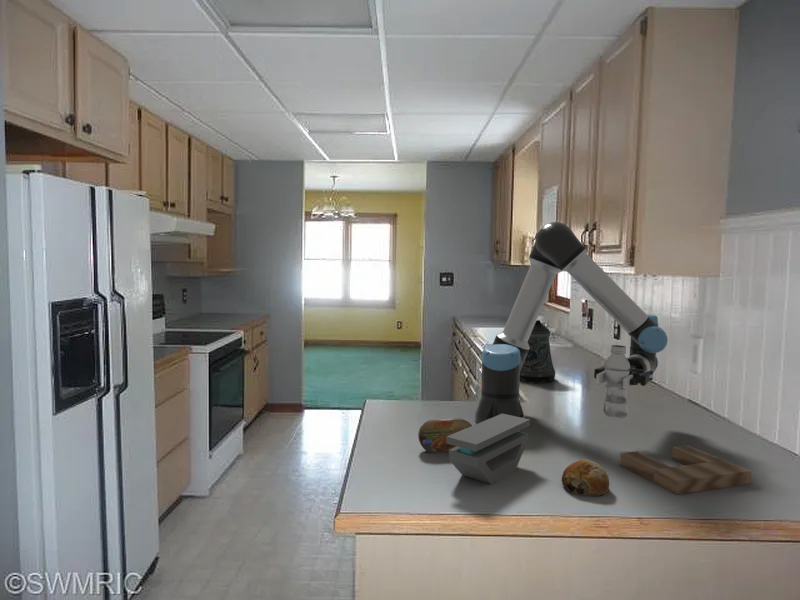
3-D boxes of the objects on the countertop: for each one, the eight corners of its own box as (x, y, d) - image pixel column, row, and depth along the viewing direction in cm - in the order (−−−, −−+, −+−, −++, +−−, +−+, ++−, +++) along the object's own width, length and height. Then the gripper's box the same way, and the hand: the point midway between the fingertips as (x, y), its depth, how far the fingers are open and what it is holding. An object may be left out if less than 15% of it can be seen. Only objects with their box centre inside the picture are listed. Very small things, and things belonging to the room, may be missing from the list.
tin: (419, 454, 143) (420, 422, 143) (416, 449, 146) (417, 418, 146) (475, 450, 146) (475, 419, 146) (471, 446, 149) (471, 416, 149)
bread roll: (611, 512, 120) (625, 477, 120) (574, 497, 117) (590, 462, 117) (583, 493, 129) (597, 461, 130) (549, 479, 126) (563, 446, 127)
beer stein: (559, 383, 227) (561, 323, 225) (512, 383, 227) (514, 322, 225) (549, 375, 243) (551, 318, 242) (505, 374, 244) (506, 318, 242)
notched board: (677, 494, 120) (678, 481, 120) (620, 465, 137) (620, 453, 137) (750, 483, 127) (751, 470, 126) (687, 456, 144) (687, 445, 143)
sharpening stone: (501, 454, 144) (502, 413, 143) (528, 462, 139) (530, 419, 138) (445, 483, 124) (446, 436, 124) (475, 493, 119) (476, 444, 119)
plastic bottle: (628, 423, 147) (632, 349, 146) (601, 419, 150) (605, 346, 148) (627, 416, 153) (631, 345, 152) (601, 413, 156) (605, 343, 154)
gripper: (668, 386, 160) (648, 402, 141) (600, 376, 171) (574, 389, 153) (669, 360, 159) (650, 373, 141) (601, 352, 171) (575, 362, 152)
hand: (610, 381), depth 147 cm, fingers closed on plastic bottle, 6 cm apart
